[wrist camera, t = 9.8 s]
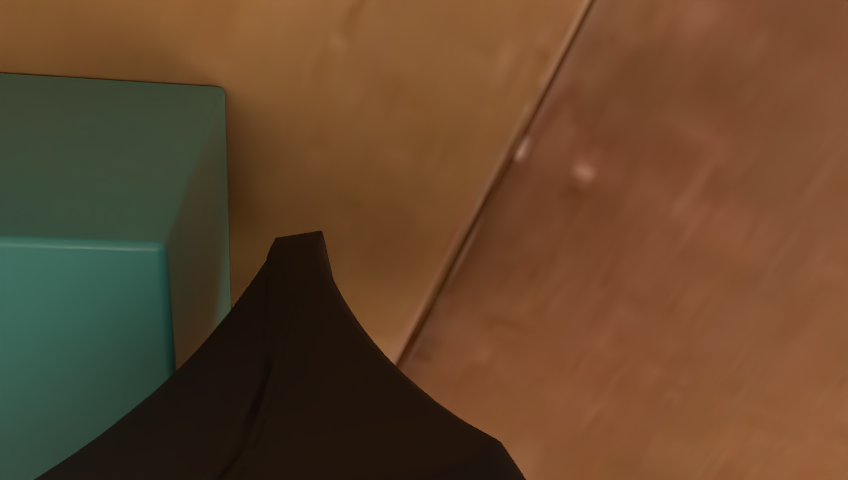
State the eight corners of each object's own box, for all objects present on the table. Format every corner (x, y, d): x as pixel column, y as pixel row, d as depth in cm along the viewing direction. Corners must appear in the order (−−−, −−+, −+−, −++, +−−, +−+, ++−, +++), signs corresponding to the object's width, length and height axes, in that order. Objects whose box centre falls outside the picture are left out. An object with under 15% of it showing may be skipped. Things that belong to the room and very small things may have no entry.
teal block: (225, 85, 12) (164, 244, 8) (232, 341, 15) (189, 571, 10) (-122, 62, 11) (-399, 225, 7) (-53, 336, 14) (-228, 579, 10)
